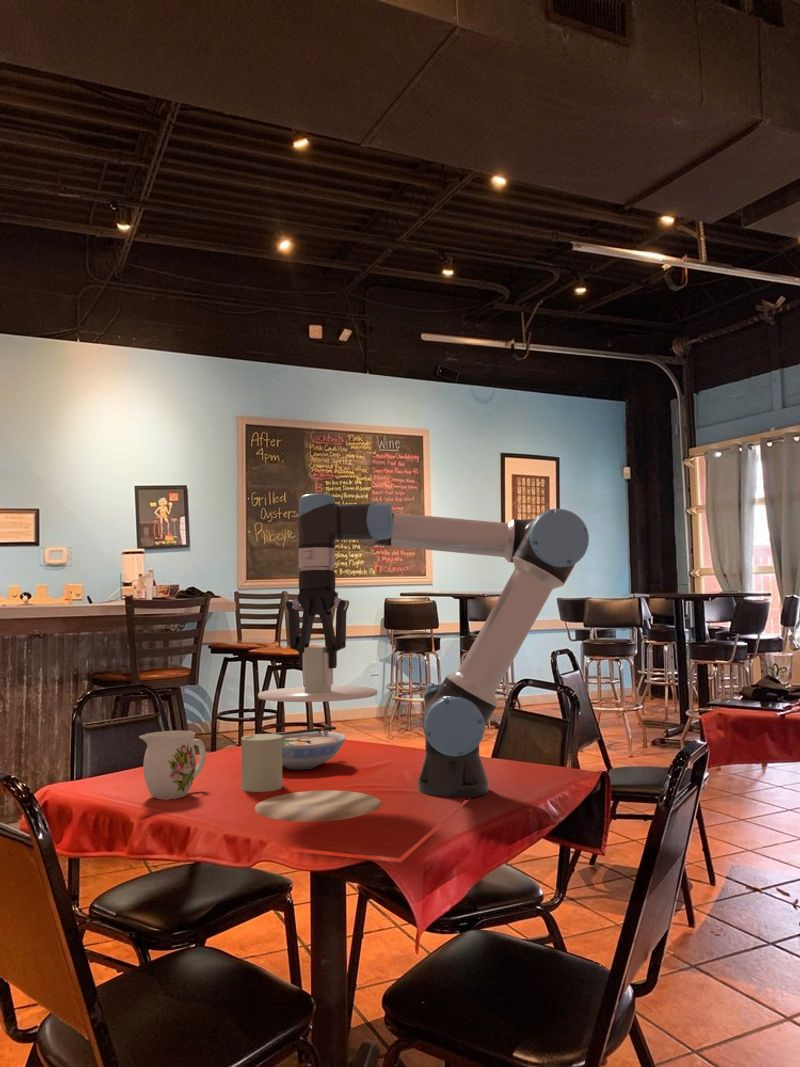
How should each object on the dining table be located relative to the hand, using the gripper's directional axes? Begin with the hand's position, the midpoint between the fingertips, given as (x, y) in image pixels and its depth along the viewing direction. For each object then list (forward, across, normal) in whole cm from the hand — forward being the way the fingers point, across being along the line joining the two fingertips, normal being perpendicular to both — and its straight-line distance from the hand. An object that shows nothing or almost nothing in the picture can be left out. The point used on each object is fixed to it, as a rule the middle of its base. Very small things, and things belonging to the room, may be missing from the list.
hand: (318, 684), depth 163 cm
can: (+25, -19, +11) cm, 33 cm away
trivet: (+24, 0, 0) cm, 24 cm away
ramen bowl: (+25, -22, +36) cm, 49 cm away
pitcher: (+24, -35, +1) cm, 43 cm away
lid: (+2, 0, 0) cm, 2 cm away
